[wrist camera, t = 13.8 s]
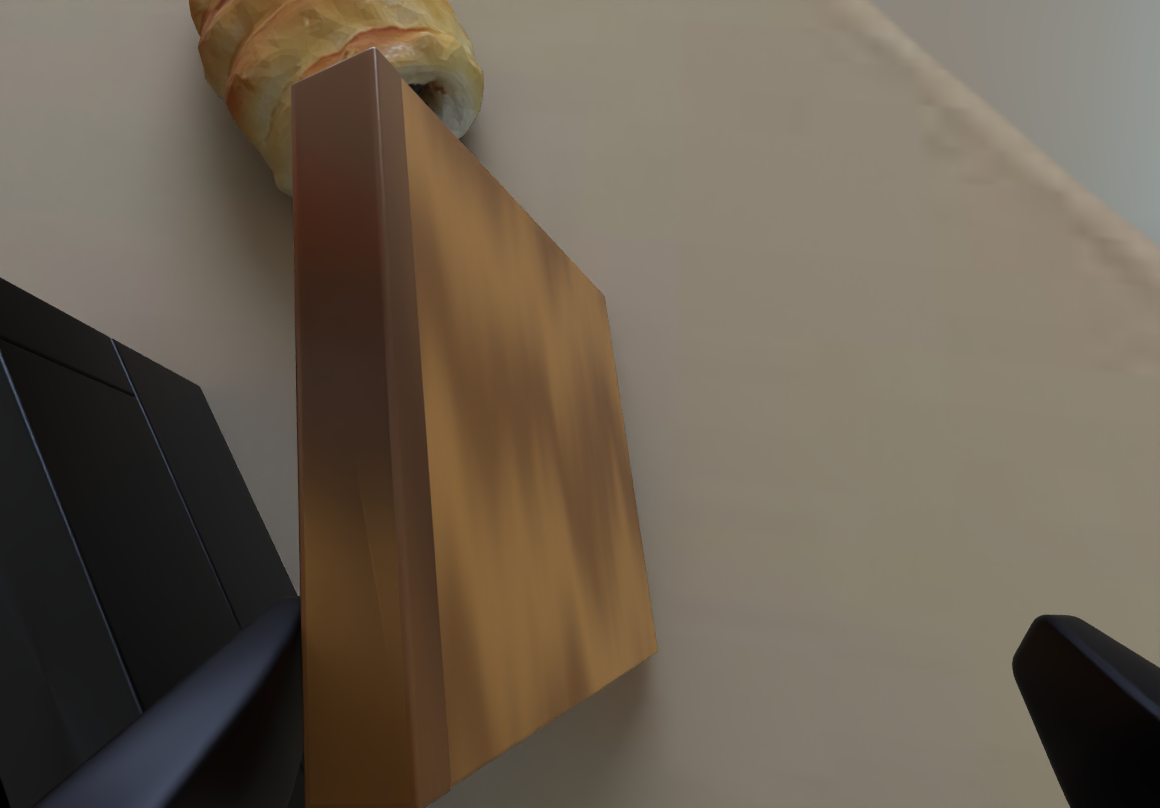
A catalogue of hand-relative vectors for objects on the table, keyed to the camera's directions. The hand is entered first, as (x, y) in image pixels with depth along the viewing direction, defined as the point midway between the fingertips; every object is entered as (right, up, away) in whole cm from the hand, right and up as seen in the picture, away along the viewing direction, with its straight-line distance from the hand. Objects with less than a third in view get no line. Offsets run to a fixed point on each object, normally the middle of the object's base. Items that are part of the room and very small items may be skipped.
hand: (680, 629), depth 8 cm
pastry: (-8, +12, +11) cm, 19 cm away
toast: (-1, +1, +8) cm, 8 cm away
